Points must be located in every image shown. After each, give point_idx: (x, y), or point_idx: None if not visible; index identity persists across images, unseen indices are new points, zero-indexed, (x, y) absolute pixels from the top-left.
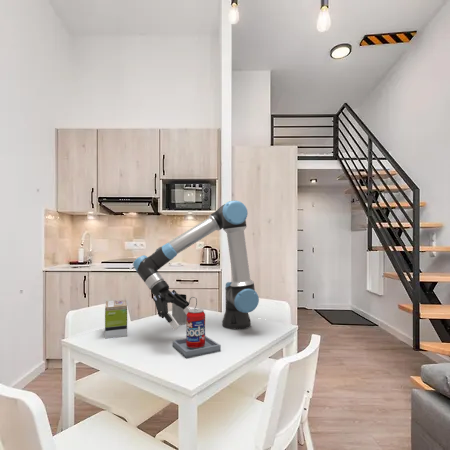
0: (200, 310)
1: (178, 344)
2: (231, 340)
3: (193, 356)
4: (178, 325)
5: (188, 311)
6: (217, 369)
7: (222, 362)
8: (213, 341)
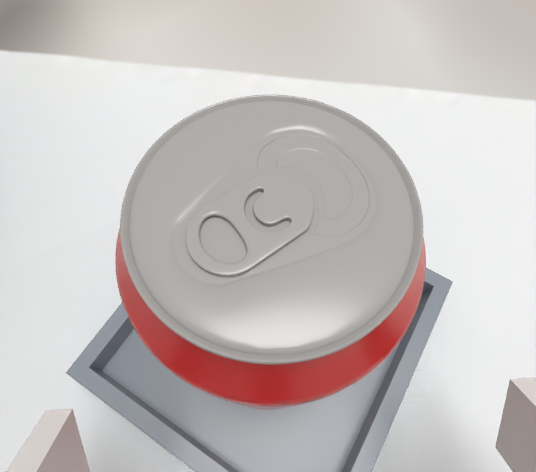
0: (239, 138)
1: (377, 433)
2: (28, 213)
3: None
4: (529, 380)
5: (404, 293)
6: (431, 107)
7: None
8: None
